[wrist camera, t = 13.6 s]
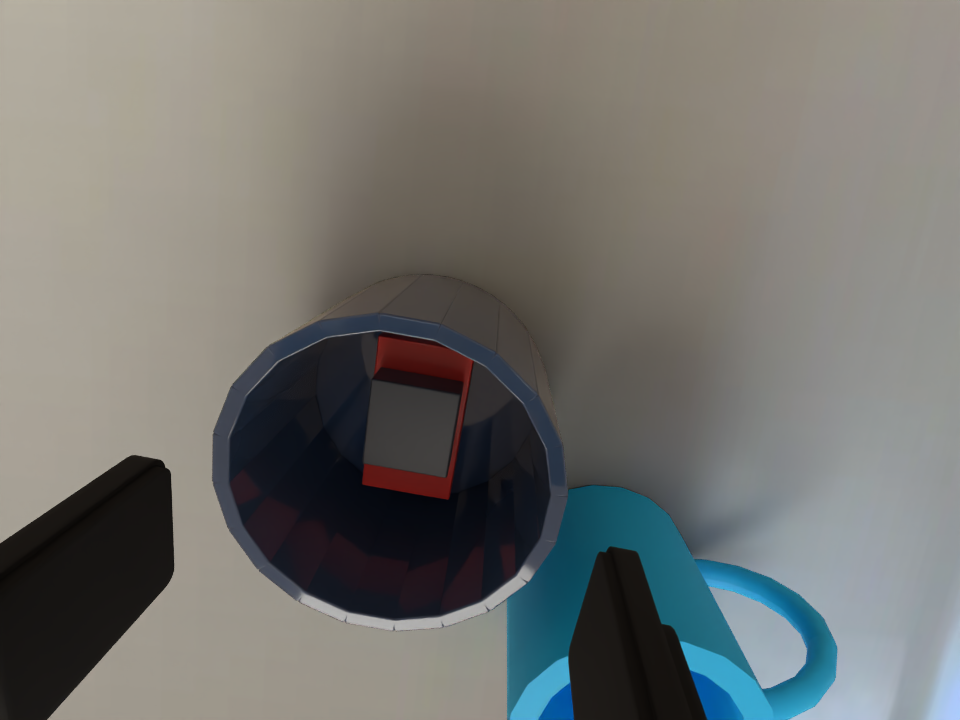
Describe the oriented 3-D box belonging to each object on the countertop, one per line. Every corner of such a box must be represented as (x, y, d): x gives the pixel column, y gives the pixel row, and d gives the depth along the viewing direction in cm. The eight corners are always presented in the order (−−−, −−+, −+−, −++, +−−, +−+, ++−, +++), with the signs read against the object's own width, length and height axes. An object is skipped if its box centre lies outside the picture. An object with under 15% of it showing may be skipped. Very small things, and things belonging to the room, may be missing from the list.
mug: (513, 634, 25) (515, 831, 17) (500, 489, 22) (497, 642, 15) (764, 627, 24) (889, 831, 16) (779, 475, 22) (933, 629, 14)
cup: (318, 253, 20) (213, 282, 13) (570, 298, 20) (606, 353, 13) (303, 475, 23) (210, 599, 16) (520, 513, 23) (527, 655, 16)
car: (393, 319, 20) (368, 345, 16) (478, 334, 20) (472, 364, 16) (377, 454, 22) (351, 504, 18) (455, 467, 22) (445, 521, 18)
